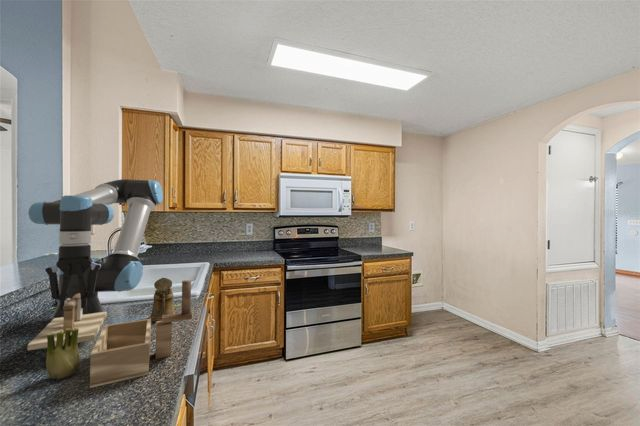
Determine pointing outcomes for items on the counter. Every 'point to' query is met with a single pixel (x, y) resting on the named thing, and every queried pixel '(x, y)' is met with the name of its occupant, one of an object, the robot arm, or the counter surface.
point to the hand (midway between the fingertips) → (73, 319)
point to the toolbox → (127, 351)
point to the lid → (70, 325)
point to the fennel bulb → (62, 354)
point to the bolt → (186, 305)
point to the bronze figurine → (162, 299)
